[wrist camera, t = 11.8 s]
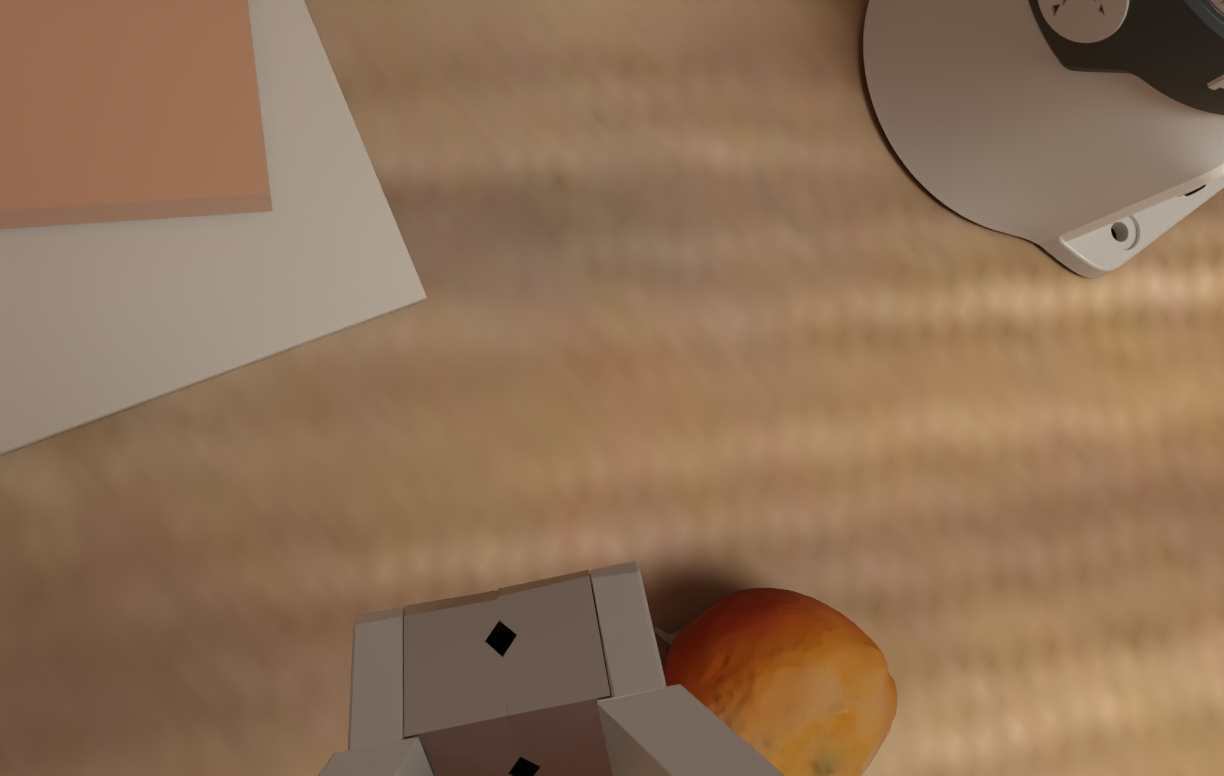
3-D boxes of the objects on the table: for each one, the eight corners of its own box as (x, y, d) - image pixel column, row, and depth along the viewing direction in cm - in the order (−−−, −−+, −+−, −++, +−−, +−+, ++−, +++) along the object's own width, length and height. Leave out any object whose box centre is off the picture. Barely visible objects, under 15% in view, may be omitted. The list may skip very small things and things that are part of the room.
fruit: (776, 499, 40) (921, 616, 34) (804, 656, 44) (939, 788, 37) (581, 597, 38) (696, 744, 31) (629, 753, 42) (740, 913, 35)
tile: (-54, 235, 35) (-91, -178, 36) (272, 213, 38) (227, -170, 39) (-78, 215, 33) (-117, -224, 34) (270, 194, 36) (222, -212, 37)
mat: (202, -239, 39) (201, -247, 39) (425, 299, 39) (427, 297, 39) (-370, -124, 34) (-378, -131, 34) (-118, 498, 34) (-123, 497, 34)
